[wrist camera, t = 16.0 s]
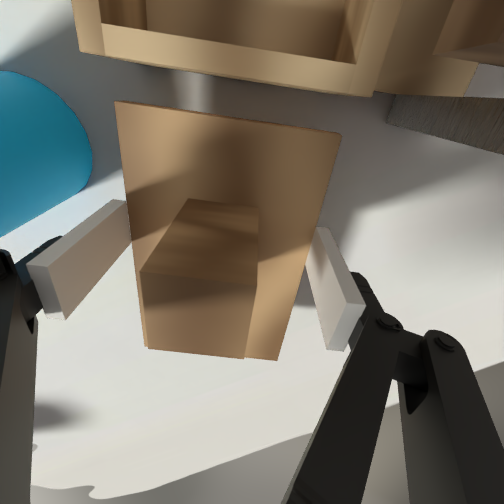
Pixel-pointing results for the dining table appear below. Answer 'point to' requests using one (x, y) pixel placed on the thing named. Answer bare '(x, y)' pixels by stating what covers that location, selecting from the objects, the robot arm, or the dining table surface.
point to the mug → (37, 151)
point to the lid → (219, 224)
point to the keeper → (453, 119)
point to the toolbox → (283, 42)
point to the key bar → (474, 32)
